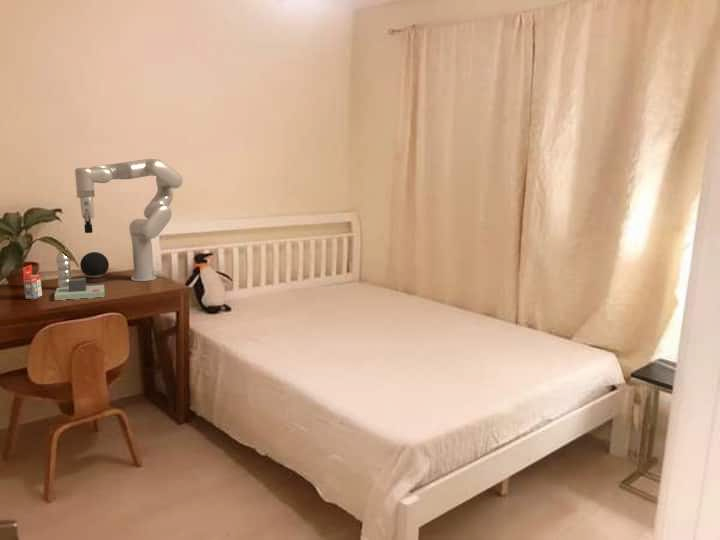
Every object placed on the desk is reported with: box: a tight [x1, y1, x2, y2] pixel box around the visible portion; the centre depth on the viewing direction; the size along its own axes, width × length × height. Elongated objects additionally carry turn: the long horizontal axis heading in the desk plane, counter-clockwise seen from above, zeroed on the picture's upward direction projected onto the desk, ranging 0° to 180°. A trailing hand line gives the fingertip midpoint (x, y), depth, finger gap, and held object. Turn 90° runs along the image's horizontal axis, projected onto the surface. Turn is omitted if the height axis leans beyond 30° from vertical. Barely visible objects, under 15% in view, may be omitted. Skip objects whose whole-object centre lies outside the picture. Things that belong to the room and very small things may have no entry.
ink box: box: [22, 264, 43, 301], centre depth 251 cm, size 4×8×15 cm, turn 3°
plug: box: [68, 277, 87, 292], centre depth 258 cm, size 7×5×7 cm
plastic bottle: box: [55, 246, 73, 288], centre depth 268 cm, size 6×7×20 cm
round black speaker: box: [79, 251, 110, 284], centre depth 286 cm, size 13×13×15 cm
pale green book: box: [53, 284, 105, 301], centre depth 258 cm, size 20×15×3 cm
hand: (88, 232), depth 268 cm, fingers closed
